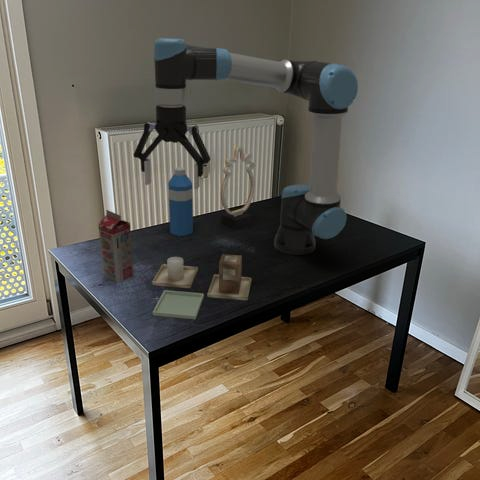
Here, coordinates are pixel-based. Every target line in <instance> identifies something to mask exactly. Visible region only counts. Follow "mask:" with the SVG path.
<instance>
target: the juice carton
mask: <svg viewBox="0 0 480 480" xmlns="http://www.w3.org/2000/svg"><path fill="white" fill-rule="evenodd" d="M105 211H106V215H105V216H104V217H103V218H102V219H100V220H99V222H98V234H99V242H100V244H99V245H100V252H101V253H100V254H101V262H102V272H103V273H102V274H103V278H104V279H106V280H108V281H109V280H110V281H113V282H114V283H116V284H117V283H120V282H121V281H122V282H123V281H124V280H126V279H129V278H131V277H132V276H134V274H135V273H134V272H135V271H134V258H133V244H132V234H131V223H130V222H128V221H127V220H124V219H122V216H121V215H120V214H117V213H115V212H113V211H110V210H109V209H106V210H105Z"/></svg>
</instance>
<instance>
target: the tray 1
mask: <svg viewBox="0 0 480 480" xmlns="http://www.w3.org/2000/svg"><path fill="white" fill-rule="evenodd" d="M183 268H184V278H183V279H182V280H179V281H171V280H169V279H168V269H167V263H164V264H163V263H162V264H161V265H160V268H159V269H158V271H157V272H156V274H155V276H154V278H153V280H152V281H151V285H152V286H157V287H158V286H159V287H168V288H170V287H171V288H179V289H180V288H181V289H191V288H192V286H193V283H194V281H195V278H196V277H197V274H198V271H199V266H188V265H183Z"/></svg>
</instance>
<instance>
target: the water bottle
mask: <svg viewBox="0 0 480 480" xmlns="http://www.w3.org/2000/svg"><path fill="white" fill-rule="evenodd" d="M167 184H168V185H167V188H168V207H169V208H168V210H169V231H170V234H171V235H173V234H174V236H176V235H177V237H180V236H181V237H183V236H184V237H185V236H188V235H191V234H192V233H194V224H193V223H194V215H193V212H194V211H193V210H194V209H193V208H194V207H193V205H194V203H193V200H194V199H193V182H192V180H191V179H190V178H189V177H188V175H187V174H186V168H185V167H180V166H179V167H178V166H177V167H175V168H174V174H173V175H172V177H171V178H170V179H169V181H168V182H167Z"/></svg>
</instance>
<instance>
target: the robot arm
mask: <svg viewBox="0 0 480 480" xmlns="http://www.w3.org/2000/svg"><path fill="white" fill-rule="evenodd" d="M153 47H154V48H153V49H154V51H153V52H154V53H153V60H154V61H153V63H154V82H155V84H154V85H155V89H154V90H155V103H156V104H157V105H156V106H155V119H156V123H153V122H151V121H147V122H146V123H144V124H143V133H142V135H141V137H140V139H139V142H138V144H137V146H136V148H135V150H134V152H133V157H134V158H137V159H139V160H140V167H141V168H140V170H141V172H142V173H144V185H145V186H149V185H150V184H151V183H152V167H151V158H148V157H150V155H151V154H152V153H153V152H154V151H155V149H156V148H157V146H158V145H159V144H160V143H161V142H165V143H170V142H171V143H174V144H175V143H179V144H180V145H181V146H183V148H184V149H185V150H186V151H187V153H188V154H189V156H191V158H192V159H193V160H194V161H195V164H194V166H193V167H194V168H193V169H194V173H193V175H194V180H193V182H194V183H193V185H194V187H193V188H194V190H198V189H199V188H200V183H201V181H200V178H202V177H203V175H204V165H205V164H208V163H209V162H210V161H211V156H210V154H209V151H208V150H207V148H206V146H205V144H204V141H203V140H202V137H201V135H200V130H199V126H198V125H197V124H195V125H192V126H191V125H190V126H188V124H187V107H186V105H185V104H186V103H187V100H186V99H187V95H186V93H187V92H186V91H187V90H186V89H187V88H186V87H187V85H186V84H187V81H193V80H197V81H201V80H202V81H203V80H204V81H208V80H209V81H210V80H212V81H213V80H214V81H217V80H219V81H220V80H223V81H228V82H236V83H242V84H248V85H253V86H254V85H255V86H260V87H268V88H273V89H276V91H278V92H279V93H284V94H288V95H291V96H295V97H298V98H300V99H302V100H305V101H308V113H309V114H310V115H311V116H312V134H311V135H312V136H311V154H310V155H311V156H310V157H311V159H310V175H309V176H310V178H309V184H291V185H288V186H286V187H284V188H283V190H282V192H281V193H282V194H281V198H280V199H281V204H280V205H281V206H280V225H279V228H278V229H277V232H276V234H275V237H274V240H273V246H274V248H275V250H277V251H278V252H280V253H282V254H286V255H290V256H305V255H309V254H312V253H313V252H314V251H315V250H316V237H318V238H320V239H323V240H328V239H333V238H334V237H336V236H338V234H339V233H340V232H341V231H342V230H343V229H344V227H346V222H347V213H346V211H345V210H344V208H341V199H342V197H341V195H340V193H338V192H337V186H338V178H339V177H338V173H339V164H340V163H339V161H340V149H341V148H340V147H341V134H342V133H341V132H342V123H343V122H342V121H343V120H342V119H343V117H344V116H346V114H347V113H348V111H349V107H350V106H351V105H352V104H353V103H354V100H356V97H357V95H358V90H359V89H358V88H359V86H358V85H359V84H358V79H357V76H356V74H355V73H354V71H353V70H352V69H351V68H349V67H348V66H346V65H342V64H339V63H336V62H323V61H317V60H290V59H282V60H281V61H276V60H272V59H266V58H260V57H255V56H250V55H249V56H248V55H244V54H239V53H233V52H230V51H229V50H227V49H226V48H219V47H203V46H195V45H190V44H186V41H185V39H183V38H168V37H167V38H165V37H164V38H163V37H161V38H157V39H156V40H155V41H154V46H153ZM154 130H155V132H156V133H157V134H158V135H157V136H156V137H155V139H154V140H153V141H152V143H150V145H149V146H148V147H147V148H146V150H145V151H144V148H145V146H146V145H147V142H148V140H149V137H150V135H151V133H152V132H153V131H154ZM187 132H189V135H191V137H192V139H193V141H194V143H195V145H196V148H197V150H196V148H195V147H194V145H192V143H191V142H190V140H189V138H188V137H187V135H186V134H187ZM143 151H144V152H143Z"/></svg>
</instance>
